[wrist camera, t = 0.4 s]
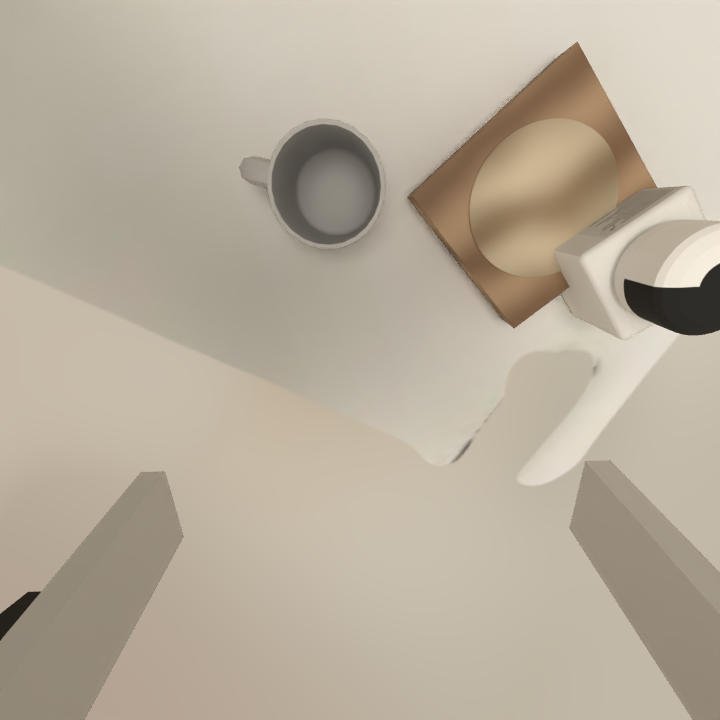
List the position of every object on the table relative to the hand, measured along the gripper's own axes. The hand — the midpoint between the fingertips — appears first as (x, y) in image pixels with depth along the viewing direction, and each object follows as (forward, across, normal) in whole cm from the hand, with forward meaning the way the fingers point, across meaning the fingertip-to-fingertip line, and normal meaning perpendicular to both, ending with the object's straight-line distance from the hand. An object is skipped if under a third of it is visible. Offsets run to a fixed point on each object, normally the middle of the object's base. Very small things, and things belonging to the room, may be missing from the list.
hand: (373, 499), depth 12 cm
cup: (+25, -4, +10) cm, 27 cm away
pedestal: (+24, +14, +8) cm, 29 cm away
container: (+25, +20, +4) cm, 32 cm away
